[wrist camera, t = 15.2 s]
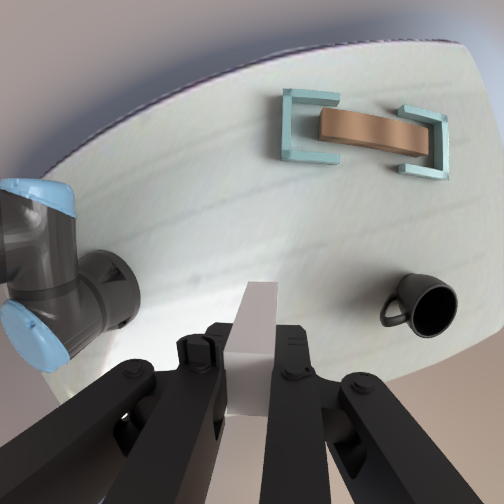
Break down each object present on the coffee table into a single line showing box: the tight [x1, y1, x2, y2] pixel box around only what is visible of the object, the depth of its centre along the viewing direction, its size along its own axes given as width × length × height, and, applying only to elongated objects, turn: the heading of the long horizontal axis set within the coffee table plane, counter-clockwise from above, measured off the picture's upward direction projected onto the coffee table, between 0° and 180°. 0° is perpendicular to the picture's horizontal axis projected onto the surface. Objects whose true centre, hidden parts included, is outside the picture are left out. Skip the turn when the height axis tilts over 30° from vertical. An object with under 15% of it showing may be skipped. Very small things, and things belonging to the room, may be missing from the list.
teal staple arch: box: [281, 89, 340, 165], centre depth 36 cm, size 8×10×3 cm
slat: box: [318, 108, 428, 157], centre depth 34 cm, size 16×4×4 cm, turn 86°
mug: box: [380, 274, 458, 338], centre depth 36 cm, size 8×12×10 cm
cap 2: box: [397, 104, 449, 180], centre depth 34 cm, size 8×10×3 cm
